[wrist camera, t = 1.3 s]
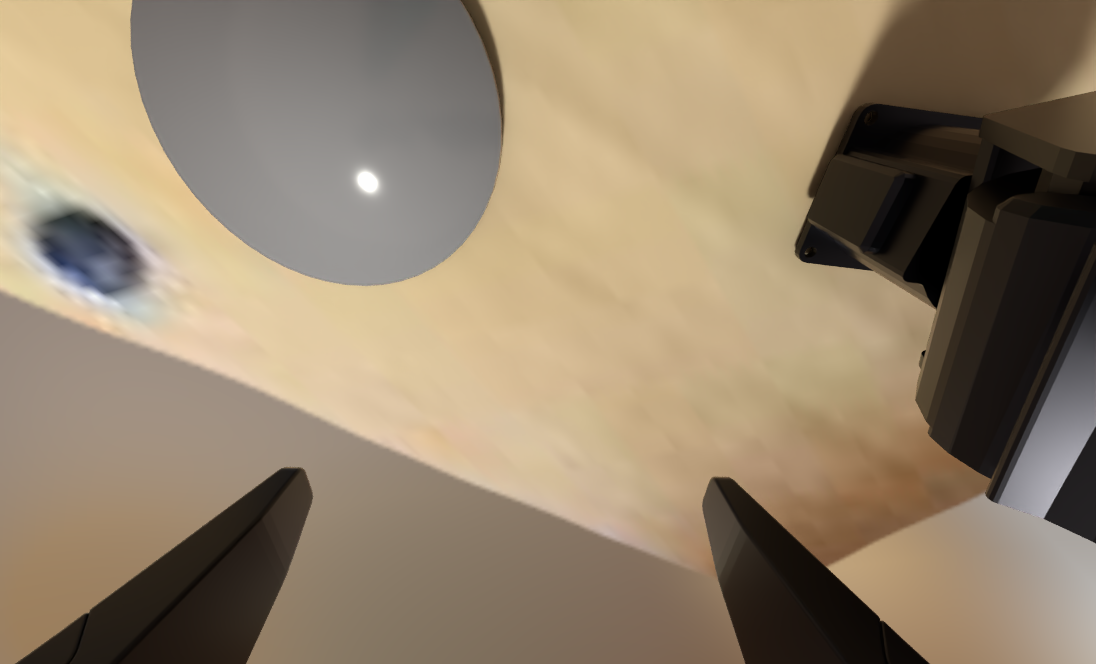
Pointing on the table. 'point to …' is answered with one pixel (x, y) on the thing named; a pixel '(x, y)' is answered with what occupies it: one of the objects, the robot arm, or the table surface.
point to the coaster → (326, 126)
